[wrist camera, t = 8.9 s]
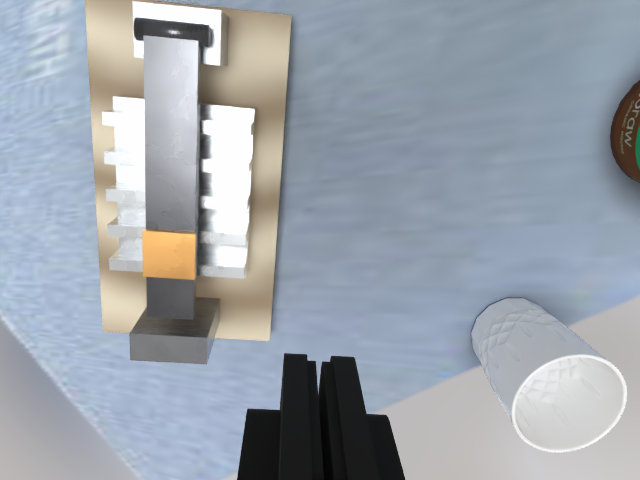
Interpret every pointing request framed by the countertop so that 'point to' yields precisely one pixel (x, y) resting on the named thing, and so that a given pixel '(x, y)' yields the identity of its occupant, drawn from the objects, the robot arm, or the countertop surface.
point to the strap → (171, 163)
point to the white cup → (547, 377)
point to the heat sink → (213, 202)
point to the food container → (627, 133)
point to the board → (216, 88)
